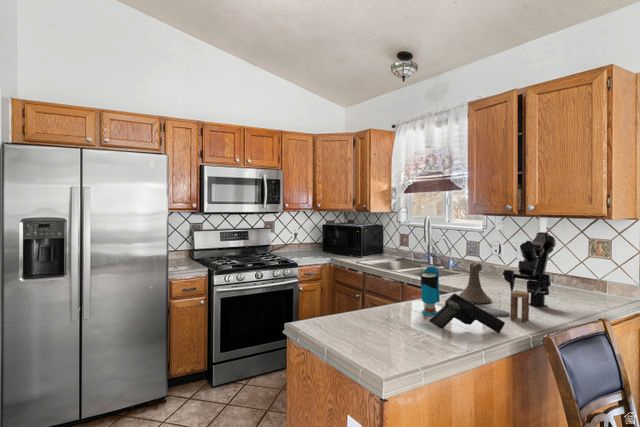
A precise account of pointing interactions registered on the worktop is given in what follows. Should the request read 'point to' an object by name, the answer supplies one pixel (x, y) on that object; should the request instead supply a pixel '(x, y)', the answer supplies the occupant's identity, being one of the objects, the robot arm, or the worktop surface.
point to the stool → (514, 305)
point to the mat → (497, 312)
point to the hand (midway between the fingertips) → (522, 292)
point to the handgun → (464, 314)
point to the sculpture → (474, 287)
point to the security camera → (430, 289)
